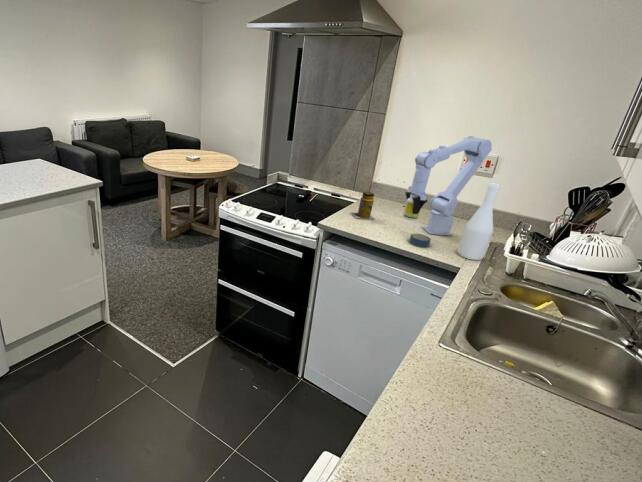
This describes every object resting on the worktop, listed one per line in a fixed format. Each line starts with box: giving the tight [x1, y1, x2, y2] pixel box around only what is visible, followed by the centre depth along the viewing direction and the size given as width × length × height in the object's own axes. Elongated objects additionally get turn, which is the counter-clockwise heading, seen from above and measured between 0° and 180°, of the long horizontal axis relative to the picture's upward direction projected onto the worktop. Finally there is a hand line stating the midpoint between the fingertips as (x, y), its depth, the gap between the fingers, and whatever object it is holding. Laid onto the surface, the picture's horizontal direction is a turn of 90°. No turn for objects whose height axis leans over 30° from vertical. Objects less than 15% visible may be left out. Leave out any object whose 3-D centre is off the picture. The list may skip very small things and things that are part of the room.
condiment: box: [351, 191, 375, 220], centre depth 190 cm, size 7×8×12 cm
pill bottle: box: [402, 193, 421, 221], centre depth 171 cm, size 6×6×11 cm
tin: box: [408, 233, 431, 248], centre depth 165 cm, size 8×8×3 cm
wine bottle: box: [457, 182, 501, 261], centre depth 152 cm, size 10×10×30 cm
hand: (412, 211), depth 172 cm, fingers closed on pill bottle, 6 cm apart
